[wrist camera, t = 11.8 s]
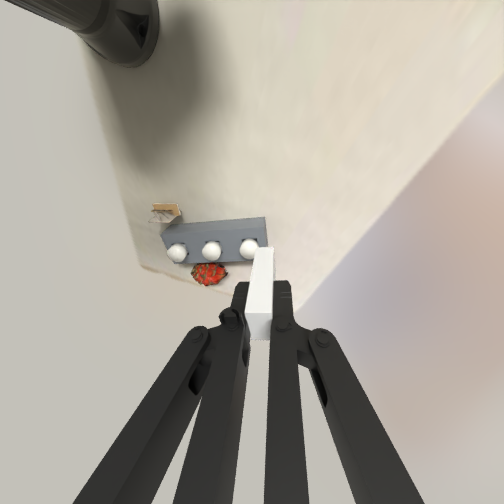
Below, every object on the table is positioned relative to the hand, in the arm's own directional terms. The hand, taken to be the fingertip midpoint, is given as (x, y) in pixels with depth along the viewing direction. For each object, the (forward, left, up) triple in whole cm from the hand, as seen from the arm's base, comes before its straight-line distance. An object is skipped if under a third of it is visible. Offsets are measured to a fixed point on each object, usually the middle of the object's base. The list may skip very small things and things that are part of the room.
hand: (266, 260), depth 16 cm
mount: (+15, -17, -32) cm, 40 cm away
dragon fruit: (+26, -22, -33) cm, 47 cm away
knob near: (+15, -7, -32) cm, 36 cm away
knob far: (+15, -27, -31) cm, 44 cm away
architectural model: (+5, -29, -33) cm, 44 cm away
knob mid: (+15, -17, -32) cm, 39 cm away
